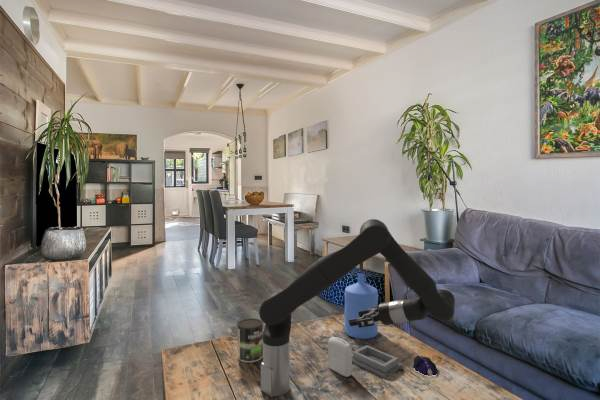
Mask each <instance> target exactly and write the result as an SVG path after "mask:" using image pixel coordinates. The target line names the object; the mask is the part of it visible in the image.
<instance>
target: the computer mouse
mask: <svg viewBox="0 0 600 400" xmlns="http://www.w3.org/2000/svg"><path fill="white" fill-rule="evenodd" d="M413 368H415V370H416V371H419V372H420V373H422V374H424V375H428V376H432V375H436V374H437V372H438V368H437V365H436V363H434V362H433V360H431V358H430V357H427V356H424V355H416V356H414V357H413V365H412V369H413ZM415 370H414V371H415ZM416 371H415V372H416ZM420 373H419V374H420ZM422 374H421V375H422ZM424 375H423V376H424ZM437 375H438V374H437Z"/></svg>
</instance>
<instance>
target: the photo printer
mask: <svg viewBox="0 0 600 400" xmlns="http://www.w3.org/2000/svg"><path fill="white" fill-rule="evenodd" d="M352 356H353V348H352V346H351V345H350V344H349V342H347V341H346V340H344V339H343V338H340V337H338V336H332V337H329V339H328V342H327V363H328V364H327V366H328V368H329V369H330V370H332V371H334V372H336V373H337V374H339V375H341V376H343V377H350V376H352V373H353V363H352Z"/></svg>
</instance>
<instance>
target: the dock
mask: <svg viewBox="0 0 600 400" xmlns="http://www.w3.org/2000/svg"><path fill="white" fill-rule="evenodd" d="M353 364H354V365H355V366H357V367H360V368H362V369H363V370H365V371H368V372H370V373H372V374H374V375H376V376H378V377H379V378H382V379H383V380H384V379H386V378H387V377H389V376H391V375H392V374H394V373H395V372H397V371H399V370H400V369H402V368H403V363H401V362H399V358H398V357H396V356H395V355H394V356H393V355H391V354H389V353H386V352H384V351H383V350H382V351H381V350H379V349H377V348H374V347H372V346H371V345H364V346H362V347H361V348H358V349H356V350H354V351H352V365H353ZM398 369H399V370H398Z"/></svg>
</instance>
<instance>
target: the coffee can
mask: <svg viewBox="0 0 600 400" xmlns="http://www.w3.org/2000/svg"><path fill="white" fill-rule="evenodd" d="M263 324H264V322H263V321H262V320H261V319H258V318H245V319H242V320H241V319H240V321H238V322H237V325H236V327H237V359H238V361H240V362H242V363H246V364H250V363H251V364H252V363H256V362H258V361H260V360H263Z"/></svg>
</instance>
